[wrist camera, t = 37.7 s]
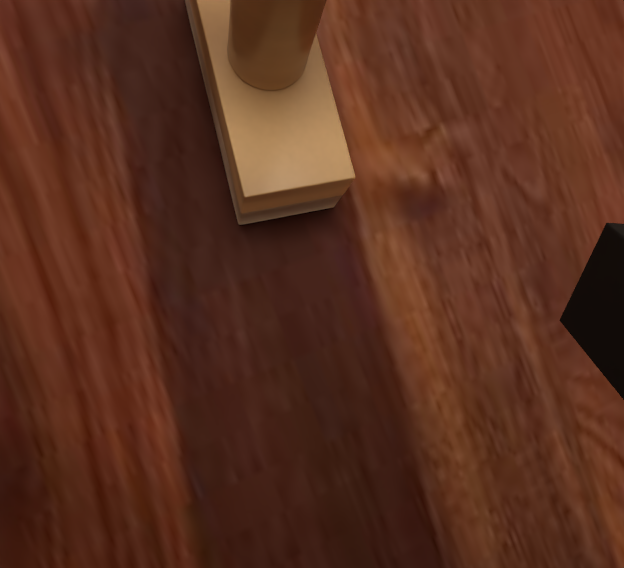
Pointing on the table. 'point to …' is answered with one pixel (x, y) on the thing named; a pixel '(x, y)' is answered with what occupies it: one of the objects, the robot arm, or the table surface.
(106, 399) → the table surface
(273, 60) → the peg on base
